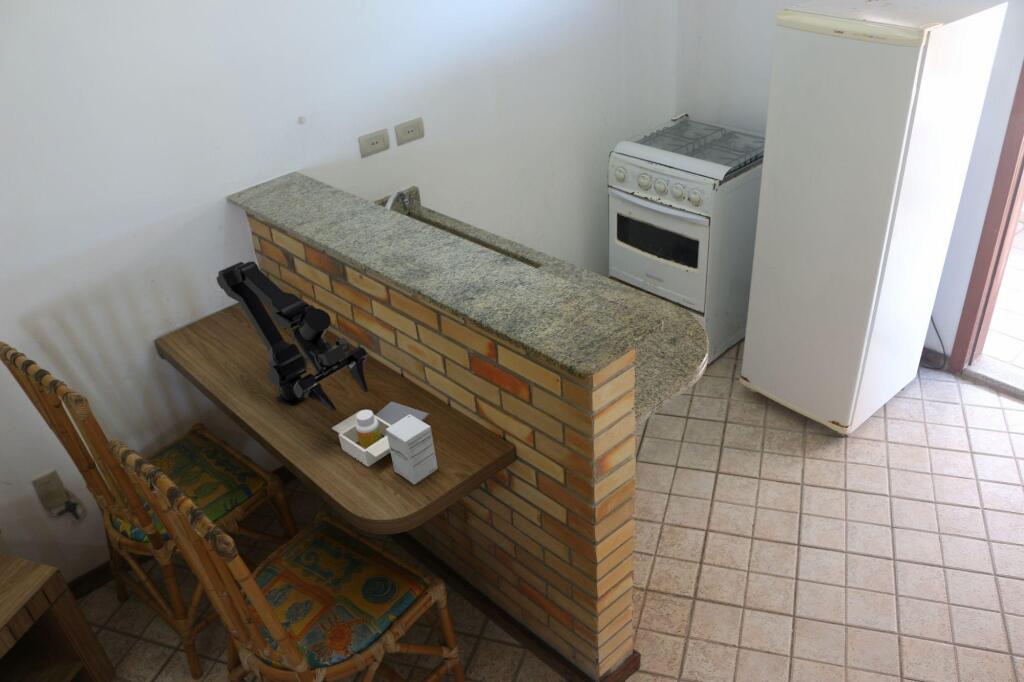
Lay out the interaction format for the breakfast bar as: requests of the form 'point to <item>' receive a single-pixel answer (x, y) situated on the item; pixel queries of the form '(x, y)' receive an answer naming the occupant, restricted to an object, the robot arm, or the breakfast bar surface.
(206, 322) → the breakfast bar surface
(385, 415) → the mat
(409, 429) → the supplement box
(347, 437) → the carton
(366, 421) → the supplement bottle
